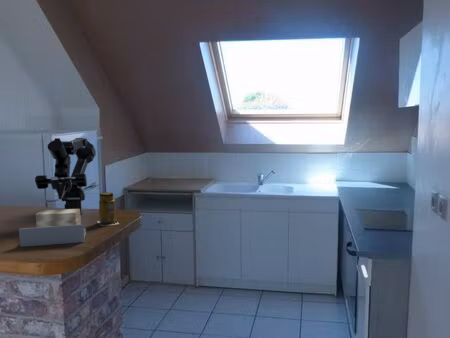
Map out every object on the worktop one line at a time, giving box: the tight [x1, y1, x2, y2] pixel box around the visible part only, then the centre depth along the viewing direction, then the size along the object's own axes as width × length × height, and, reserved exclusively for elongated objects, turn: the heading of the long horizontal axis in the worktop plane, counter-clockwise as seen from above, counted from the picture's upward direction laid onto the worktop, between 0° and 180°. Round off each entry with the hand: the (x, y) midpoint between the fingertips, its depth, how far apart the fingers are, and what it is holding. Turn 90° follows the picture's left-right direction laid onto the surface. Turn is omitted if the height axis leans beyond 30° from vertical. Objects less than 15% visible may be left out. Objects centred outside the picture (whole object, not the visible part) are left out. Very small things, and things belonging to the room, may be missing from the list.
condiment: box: [96, 191, 120, 227], centre depth 176 cm, size 7×8×12 cm
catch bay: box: [18, 223, 87, 248], centre depth 154 cm, size 11×20×6 cm, turn 102°
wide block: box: [35, 208, 82, 227], centre depth 164 cm, size 14×7×8 cm, turn 95°
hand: (60, 198), depth 170 cm, fingers closed
